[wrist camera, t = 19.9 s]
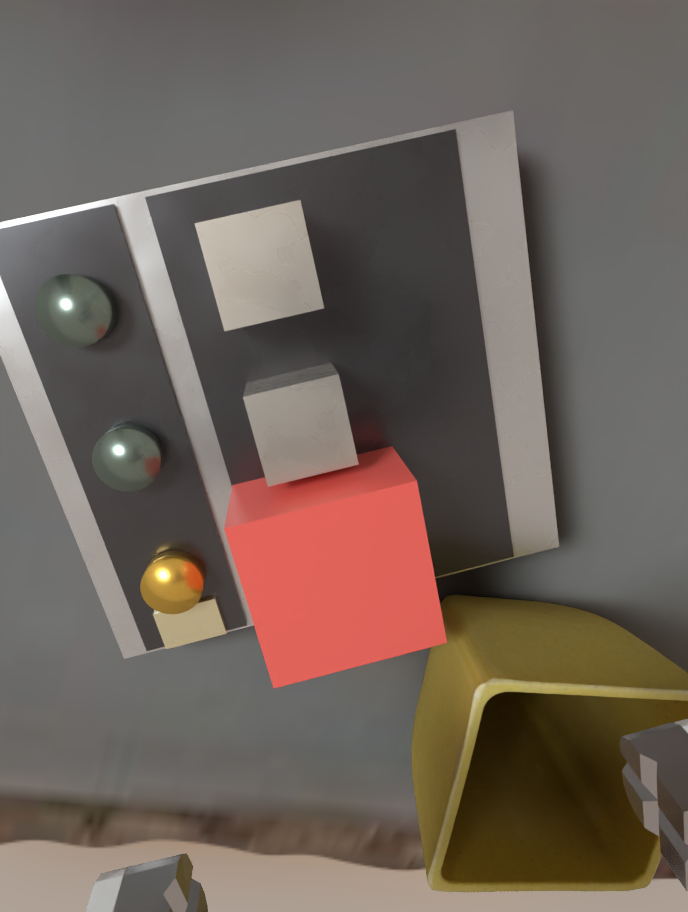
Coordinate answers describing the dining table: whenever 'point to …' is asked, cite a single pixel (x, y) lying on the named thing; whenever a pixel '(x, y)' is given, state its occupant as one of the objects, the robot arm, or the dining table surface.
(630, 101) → the dining table surface
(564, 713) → the flower pot
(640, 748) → the robot arm
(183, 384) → the breaker panel
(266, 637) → the cap
